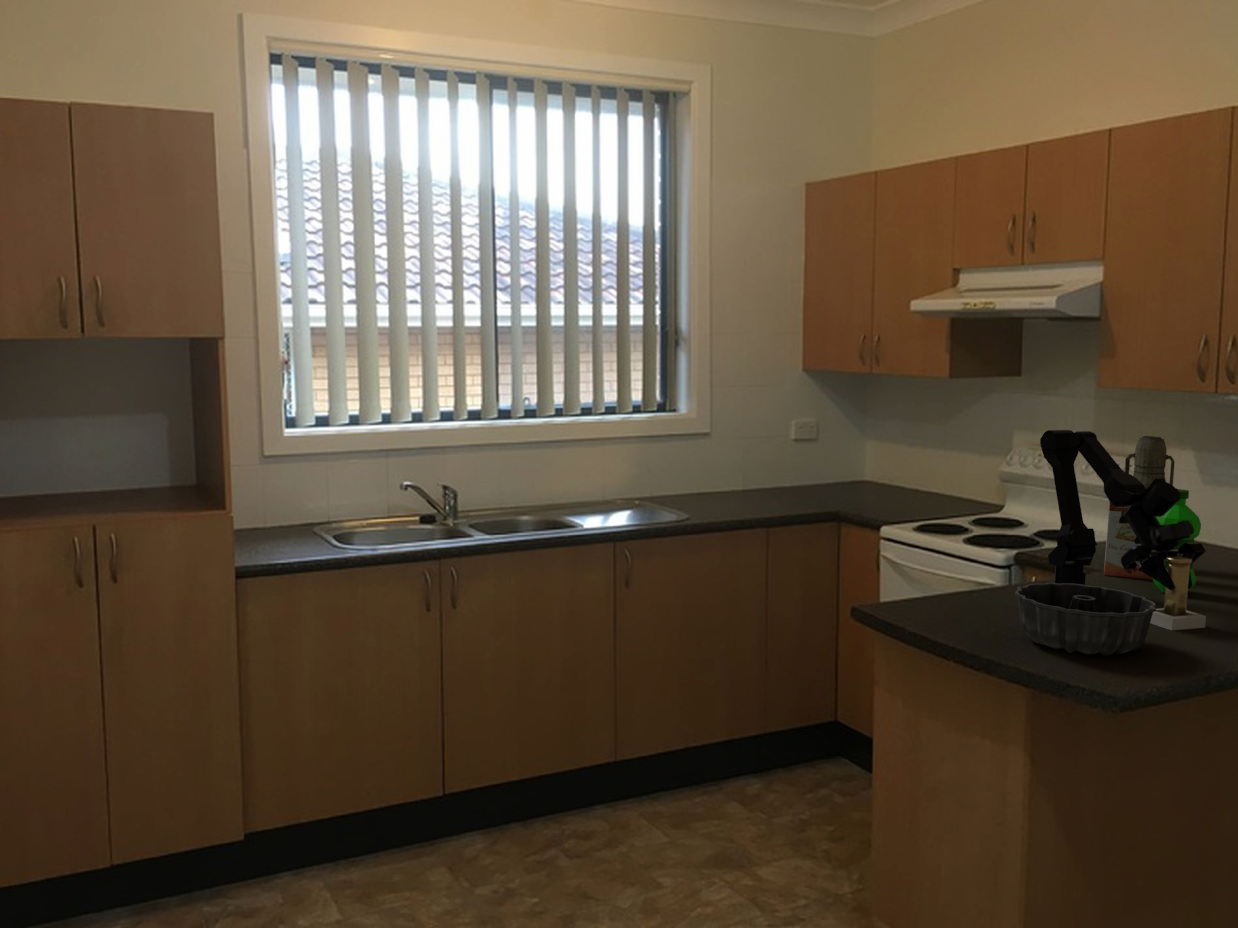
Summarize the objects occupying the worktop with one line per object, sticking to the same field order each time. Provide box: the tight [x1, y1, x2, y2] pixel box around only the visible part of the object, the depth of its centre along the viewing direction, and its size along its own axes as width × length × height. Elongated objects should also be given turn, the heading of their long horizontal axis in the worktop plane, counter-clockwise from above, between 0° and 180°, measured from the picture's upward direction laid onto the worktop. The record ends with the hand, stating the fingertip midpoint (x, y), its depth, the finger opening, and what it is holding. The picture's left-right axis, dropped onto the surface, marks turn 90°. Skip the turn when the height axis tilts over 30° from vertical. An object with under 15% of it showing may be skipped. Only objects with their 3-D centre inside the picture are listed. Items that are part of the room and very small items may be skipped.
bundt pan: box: [1014, 582, 1157, 657], centre depth 238 cm, size 26×26×10 cm
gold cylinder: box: [1163, 556, 1192, 617], centre depth 256 cm, size 5×5×13 cm
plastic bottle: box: [1152, 488, 1202, 594], centre depth 286 cm, size 10×10×25 cm
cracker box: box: [1103, 500, 1153, 581], centre depth 304 cm, size 14×6×21 cm, turn 68°
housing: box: [1150, 607, 1207, 631], centre depth 256 cm, size 8×9×2 cm
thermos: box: [1124, 435, 1175, 488], centre depth 315 cm, size 9×12×35 cm
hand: (1181, 588), depth 255 cm, fingers closed on gold cylinder, 4 cm apart
